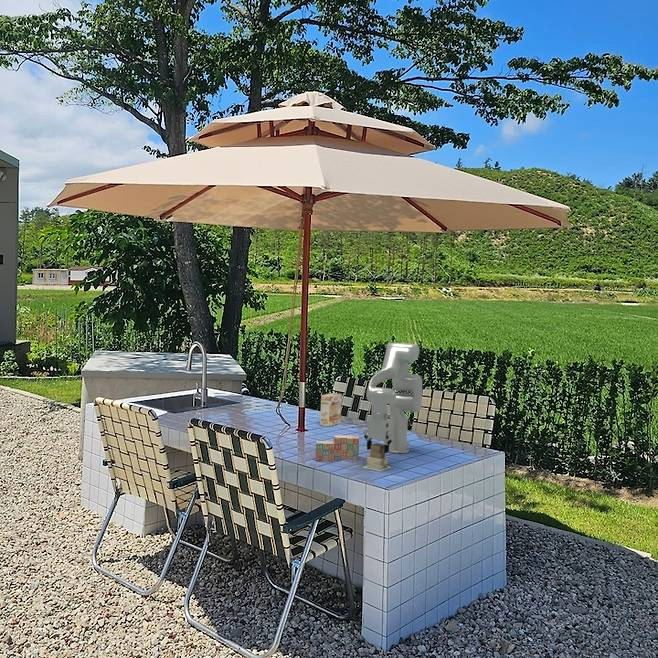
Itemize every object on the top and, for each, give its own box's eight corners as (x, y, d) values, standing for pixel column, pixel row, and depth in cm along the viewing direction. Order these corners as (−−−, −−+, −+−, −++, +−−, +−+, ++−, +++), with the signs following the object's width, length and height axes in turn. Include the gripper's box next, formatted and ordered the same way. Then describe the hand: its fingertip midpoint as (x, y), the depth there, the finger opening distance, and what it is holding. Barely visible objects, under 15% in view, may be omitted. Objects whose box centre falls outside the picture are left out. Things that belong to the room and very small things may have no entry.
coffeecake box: (329, 427, 432) (330, 396, 431) (319, 425, 436) (320, 395, 435) (341, 423, 445) (342, 393, 444) (331, 422, 448) (332, 392, 447)
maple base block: (374, 464, 338) (375, 454, 337) (387, 467, 334) (387, 457, 333) (366, 467, 332) (367, 457, 332) (379, 470, 328) (379, 459, 328)
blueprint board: (372, 464, 343) (372, 461, 343) (396, 469, 334) (397, 467, 334) (356, 469, 331) (356, 467, 331) (381, 475, 323) (381, 472, 323)
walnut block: (375, 455, 336) (376, 443, 336) (384, 457, 333) (385, 444, 333) (370, 457, 332) (370, 444, 332) (379, 458, 329) (379, 446, 329)
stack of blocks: (316, 461, 345) (316, 437, 344) (315, 458, 351) (316, 434, 351) (358, 462, 347) (359, 438, 346) (357, 459, 353) (357, 435, 352)
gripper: (398, 417, 329) (397, 452, 330) (368, 412, 340) (367, 446, 341) (390, 419, 323) (388, 455, 324) (359, 414, 334) (358, 449, 335)
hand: (377, 451), depth 332 cm, fingers open, 9 cm apart
